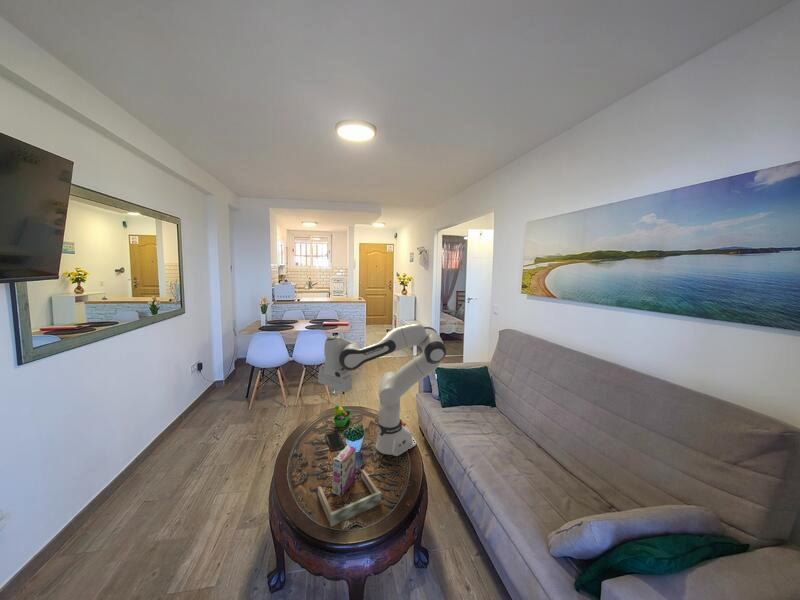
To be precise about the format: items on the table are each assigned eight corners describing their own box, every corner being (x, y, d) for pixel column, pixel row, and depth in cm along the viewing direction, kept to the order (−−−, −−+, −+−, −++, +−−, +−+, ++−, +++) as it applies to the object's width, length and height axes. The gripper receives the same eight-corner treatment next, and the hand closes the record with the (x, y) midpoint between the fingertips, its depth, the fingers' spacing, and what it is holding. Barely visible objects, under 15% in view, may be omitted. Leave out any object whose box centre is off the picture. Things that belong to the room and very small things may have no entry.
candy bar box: (341, 498, 126) (341, 462, 123) (332, 493, 128) (331, 459, 125) (355, 480, 136) (356, 447, 134) (346, 476, 138) (346, 444, 136)
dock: (363, 477, 138) (363, 467, 137) (381, 503, 124) (381, 492, 123) (317, 495, 127) (317, 484, 126) (331, 526, 112) (331, 515, 112)
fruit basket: (344, 428, 176) (344, 411, 174) (330, 426, 177) (330, 409, 176) (351, 418, 187) (351, 401, 185) (338, 416, 188) (338, 400, 187)
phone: (330, 450, 155) (324, 434, 168) (330, 452, 155) (324, 436, 168) (345, 446, 158) (338, 431, 172) (345, 448, 158) (338, 433, 172)
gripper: (314, 365, 147) (315, 392, 149) (344, 375, 136) (344, 404, 138) (324, 362, 152) (324, 387, 154) (353, 371, 141) (354, 398, 143)
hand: (334, 395), depth 146 cm, fingers closed
